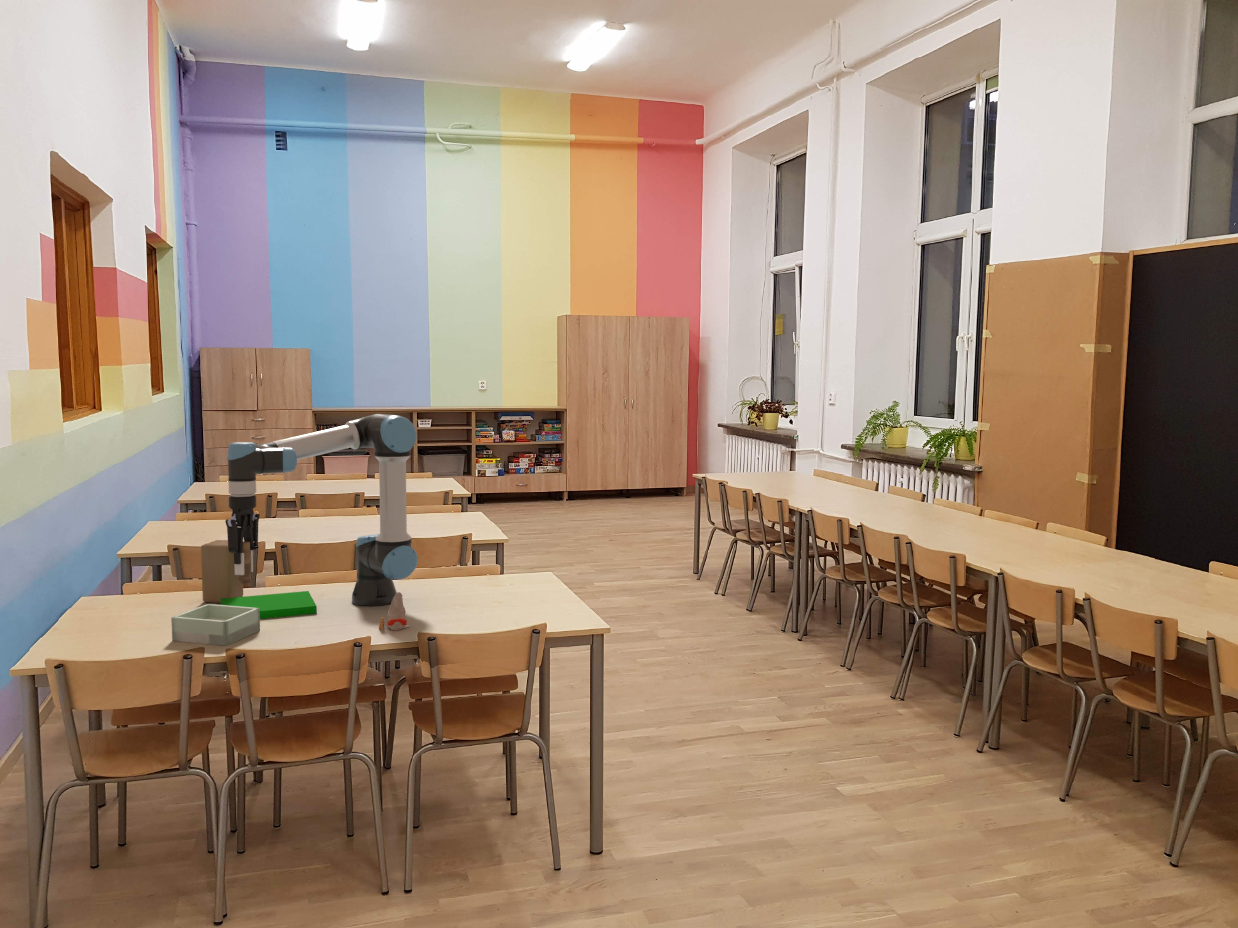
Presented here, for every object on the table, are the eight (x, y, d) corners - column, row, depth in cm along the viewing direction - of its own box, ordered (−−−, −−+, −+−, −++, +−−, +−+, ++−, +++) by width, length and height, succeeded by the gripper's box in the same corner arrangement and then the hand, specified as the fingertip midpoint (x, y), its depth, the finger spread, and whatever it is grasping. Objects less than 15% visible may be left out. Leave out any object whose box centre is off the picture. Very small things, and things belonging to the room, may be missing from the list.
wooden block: (244, 596, 319) (242, 540, 317) (229, 604, 309) (227, 545, 307) (217, 595, 320) (215, 539, 318) (201, 602, 310) (199, 544, 308)
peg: (253, 581, 273) (252, 541, 272) (245, 584, 269) (245, 543, 268) (242, 580, 274) (241, 541, 272) (235, 583, 270) (234, 543, 269)
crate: (260, 630, 278) (259, 608, 278) (226, 645, 263) (225, 621, 262) (208, 625, 282) (207, 603, 282) (172, 640, 267) (171, 617, 266)
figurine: (406, 623, 288) (409, 588, 285) (410, 632, 282) (413, 596, 279) (377, 625, 284) (379, 589, 281) (380, 634, 278) (383, 597, 275)
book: (220, 607, 307) (220, 598, 306) (308, 599, 319) (308, 590, 318) (223, 624, 286) (222, 615, 286) (316, 615, 298) (316, 606, 298)
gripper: (248, 490, 278) (249, 566, 280) (213, 497, 261) (214, 578, 264) (270, 492, 276) (271, 568, 278) (236, 499, 260) (238, 579, 262)
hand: (243, 572), depth 271 cm, fingers closed on peg, 3 cm apart
